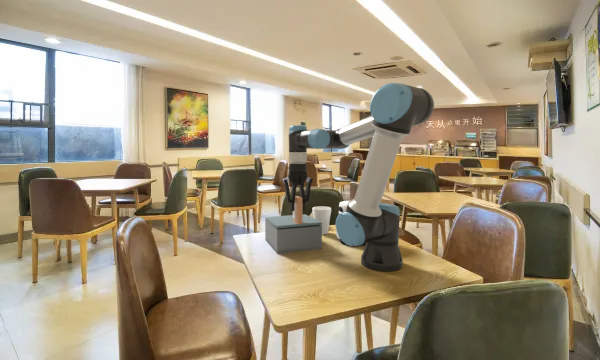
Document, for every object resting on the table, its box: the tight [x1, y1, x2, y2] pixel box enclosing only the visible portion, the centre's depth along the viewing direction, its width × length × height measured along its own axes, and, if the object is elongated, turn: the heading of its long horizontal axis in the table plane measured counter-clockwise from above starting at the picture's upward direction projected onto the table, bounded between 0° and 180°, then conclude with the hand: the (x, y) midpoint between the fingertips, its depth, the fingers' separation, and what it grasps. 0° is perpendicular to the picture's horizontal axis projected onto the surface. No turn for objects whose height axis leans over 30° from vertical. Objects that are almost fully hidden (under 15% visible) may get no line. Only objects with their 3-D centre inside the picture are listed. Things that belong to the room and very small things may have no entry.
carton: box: [264, 219, 323, 254], centre depth 145 cm, size 20×20×10 cm
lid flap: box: [265, 195, 322, 228], centre depth 144 cm, size 20×20×12 cm
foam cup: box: [311, 205, 332, 236], centre depth 163 cm, size 10×9×13 cm
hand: (297, 218), depth 137 cm, fingers closed on lid flap, 2 cm apart
